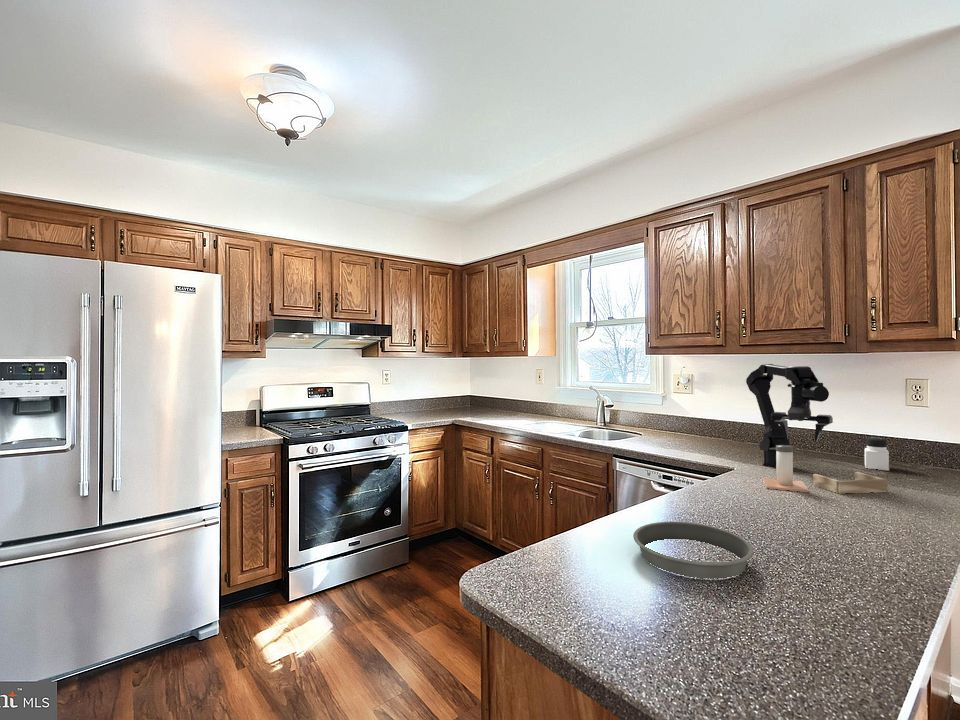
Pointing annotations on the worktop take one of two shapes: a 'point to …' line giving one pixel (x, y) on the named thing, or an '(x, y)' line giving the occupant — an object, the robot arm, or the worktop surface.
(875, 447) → the medicine bottle
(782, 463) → the cream spice jar
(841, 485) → the birch stall
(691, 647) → the worktop surface
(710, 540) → the grey thin ring
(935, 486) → the worktop surface
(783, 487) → the terracotta tile
